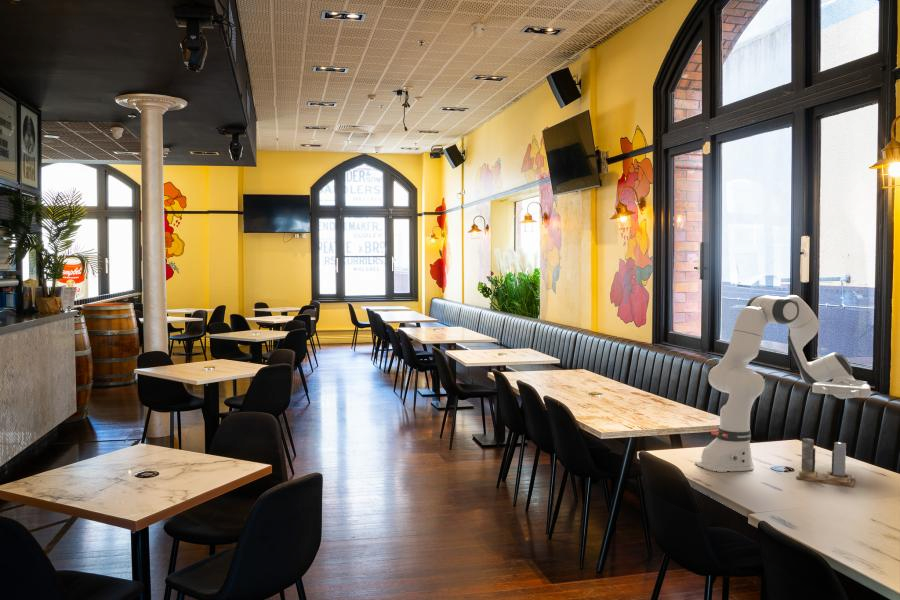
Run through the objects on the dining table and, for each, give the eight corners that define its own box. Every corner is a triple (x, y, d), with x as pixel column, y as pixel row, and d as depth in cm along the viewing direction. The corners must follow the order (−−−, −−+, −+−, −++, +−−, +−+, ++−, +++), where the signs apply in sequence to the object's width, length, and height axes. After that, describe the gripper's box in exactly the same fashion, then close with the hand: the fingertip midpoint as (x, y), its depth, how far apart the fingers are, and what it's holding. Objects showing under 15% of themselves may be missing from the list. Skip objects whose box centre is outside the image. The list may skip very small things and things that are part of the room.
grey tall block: (831, 479, 258) (832, 442, 257) (832, 477, 261) (833, 440, 260) (844, 481, 256) (845, 444, 255) (845, 478, 258) (846, 442, 258)
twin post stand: (796, 478, 262) (796, 440, 261) (799, 473, 269) (800, 435, 269) (853, 487, 252) (854, 447, 251) (855, 480, 259) (856, 441, 259)
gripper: (813, 377, 291) (809, 382, 279) (871, 381, 279) (869, 386, 268) (813, 392, 291) (809, 397, 279) (871, 397, 280) (869, 403, 268)
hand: (839, 392), depth 273 cm, fingers open, 8 cm apart
